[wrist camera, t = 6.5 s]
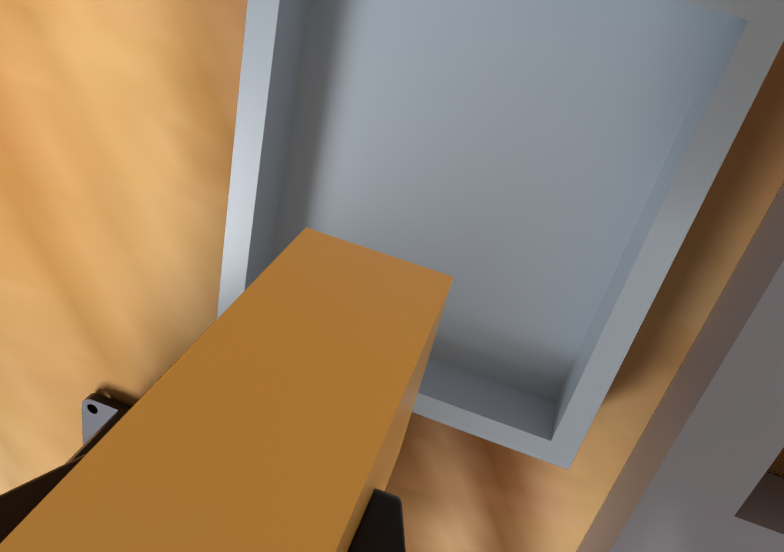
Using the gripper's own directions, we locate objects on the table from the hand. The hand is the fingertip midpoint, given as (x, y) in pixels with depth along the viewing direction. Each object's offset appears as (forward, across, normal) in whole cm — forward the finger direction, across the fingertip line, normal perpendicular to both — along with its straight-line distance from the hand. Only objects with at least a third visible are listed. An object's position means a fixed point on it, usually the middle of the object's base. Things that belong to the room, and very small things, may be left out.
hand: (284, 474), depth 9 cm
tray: (+12, 0, 0) cm, 12 cm away
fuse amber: (+3, 0, 0) cm, 3 cm away
